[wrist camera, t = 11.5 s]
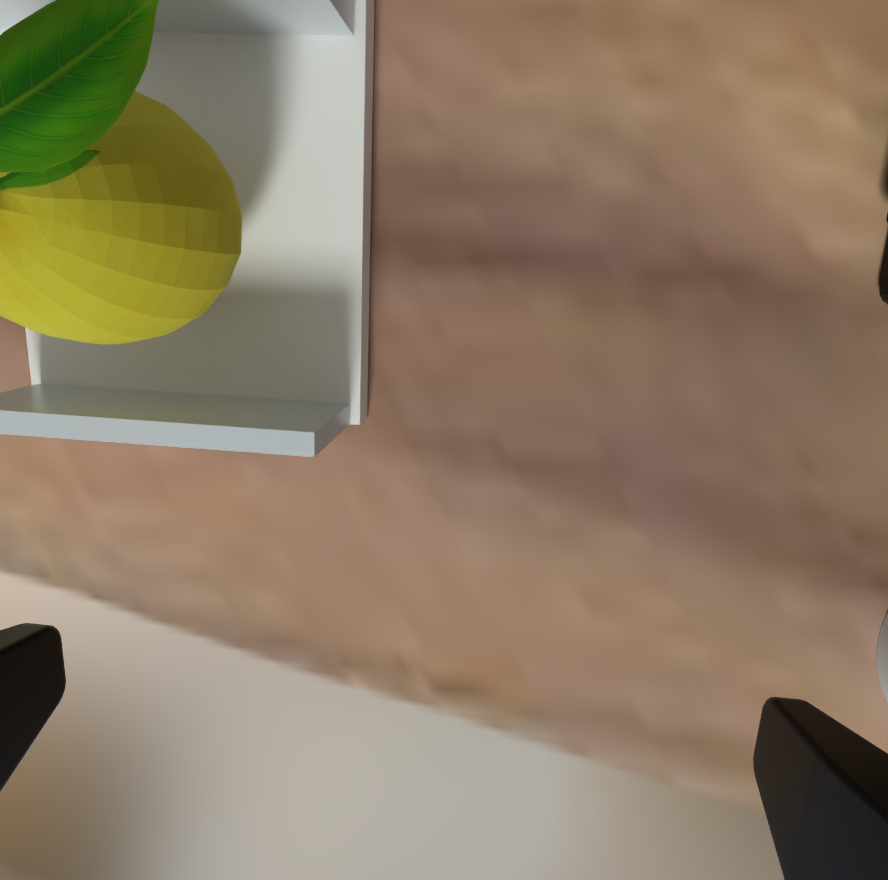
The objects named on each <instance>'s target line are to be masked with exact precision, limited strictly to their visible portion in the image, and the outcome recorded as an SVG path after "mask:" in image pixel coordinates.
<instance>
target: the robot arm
mask: <svg viewBox="0 0 888 880" xmlns="http://www.w3.org/2000/svg"><path fill="white" fill-rule="evenodd" d="M887 223H888V214H887ZM880 296H881V298H882V300H883V301H884V302H885V303H887V304H888V248H887V253H886V258H885V262H884V267H883V272H882V277H881V282H880ZM65 684H66V678H65V669H64V660H63V652H62V642H61V636H60V633H59V631H58V630H57V629H56V628H55V627H53V626H50V625H41V624H31V623H25V624H20V625H16V626H13V627H10V628H6V629H4V630H0V791H1V790H2V788H3V786H4V785H5V784H6V782H7V781H8V779H9V777H10V776H11V775H12V773H13V771H14V770H15V768H16V767H17V765H18V764H19V762H20V761H21V759H22V758H23V756H24V755H25V753H26V752H27V750H28V749H29V747H30V746H31V744H32V743H33V741H34V740H35V738H36V737H37V735H38V734H39V732H40V731H41V729H42V728H43V726H44V724H45V723H46V722H47V720H48V719H49V717H50V716H51V714H52V713H53V711H54V710H55V708H56V706H57V705H58V704H59V702H60V700H61V698H62V696H63V693H64V690H65ZM753 765H754V773H755V778H756V781H757V785H758V789H759V792H760V796H761V799H762V803H763V806H764V810H765V813H766V816H767V820H768V824H769V827H770V831H771V834H772V838H773V841H774V845H775V848H776V852H777V855H778V859H779V862H780V866H781V869H782V873H783V876H784V880H888V754H887V753H886V752H884V751H883V750H881V749H879V748H878V747H876V746H875V745H873V744H872V743H870V742H869V741H867V740H866V739H864V738H862V737H861V736H859V735H858V734H856V733H855V732H853V731H852V730H850V729H848V728H847V727H845V726H844V725H842V724H841V723H839V722H838V721H836V720H834V719H833V718H831V717H830V716H828V715H827V714H825V713H824V712H822V711H821V710H819V709H817V708H816V707H814V706H813V705H811V704H810V703H808V702H806V701H804V700H800V699H790V698H780V697H771V698H769V699H768V700H766V702H765V704H764V706H763V709H762V714H761V719H760V724H759V729H758V735H757V740H756V745H755V750H754V757H753Z"/></svg>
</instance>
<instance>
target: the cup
mask: <svg viewBox="0 0 888 880" xmlns="http://www.w3.org/2000/svg"><path fill="white" fill-rule="evenodd" d="M876 664H877V673H878V678H879V682H880V686H881V689H882V692H883V694H884V696H885V699H886V701H887V703H888V612H887V614H886V616H885V619H884V621H883V624H882V627H881V630H880V634H879V638H878V644H877V654H876Z"/></svg>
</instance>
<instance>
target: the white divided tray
mask: <svg viewBox="0 0 888 880" xmlns="http://www.w3.org/2000/svg"><path fill="white" fill-rule="evenodd" d="M53 1H55V0H0V35H1V34H2V33H3V32H4V31H6V30H7V29H9V28H10V27H12V26H14V25H15V24H17V23H18V22H20V21H21V20H23V19H25V18H26V17H28V16H29V15H31V14H33V13H34V12H36V11H38V10H39V9H41V8H42V7H44V6H46V5H47V4H49V3H51V2H53ZM374 1H375V0H159V2H158V6H157V12H156V18H155V25H154V32H153V37H152V43H151V48H150V52H149V56H148V61H147V65H146V68H145V70H144V73H143V75H142V77H141V79H140V82H139V83H138V85H137V87H136V89H135V91H136V92H139V93H141V94H143V95H145V96H147V97H149V98H152V99H154V100H156V101H158V102H160V103H162V104H165V105H166V106H168V107H169V108H170V109H171V110H173V111H174V112H175V113H177V114H178V115H179V116H180V117H181V118H182V119H183V120H184V121H185V122H186V123H187V124H188V125H189V126H191V127H192V128H193V129H194V130H195V131H196V132H197V133H198V134H199V135H200V136H201V137H202V138H203V139H204V140H205V141H207V143H208V144H209V145H210V146H211V147H212V148H213V150H214V151H215V153H216V155H217V156H218V158H219V160H220V161H221V163H222V164H223V166H224V168H225V169H226V171H227V173H228V174H229V176H230V178H231V179H232V181H233V183H234V187H235V191H236V195H237V199H238V203H239V207H240V211H241V215H242V240H241V254H240V257H239V259H238V262H237V264H236V266H235V269H234V271H233V274H232V276H231V279H230V281H229V284H228V285H227V286H226V288H225V289H224V290H223V291H222V293H221V294H220V295H219V296H218V298H217V299H216V300H215V301H214V302H213V304H212V305H211V306H210V307H209V309H208V310H207V311H205V312H204V313H203V314H202V315H201V316H199V317H197V318H196V319H194V320H192V321H191V322H189V323H187V324H186V325H184V326H182V327H181V328H179V329H178V330H176V331H174V332H172V333H169V334H167V335H164V336H160V337H155V338H150V339H145V340H140V341H135V342H130V343H123V344H93V343H85V342H79V341H74V340H68V339H63V338H57V337H52V336H47V335H44V334H42V333H39V332H36V331H33V330H30V329H28V328H26V327H25V329H26V338H27V347H28V356H29V365H30V374H31V382H32V386H27V387H23V388H19V389H15V390H10V391H6V392H2V393H0V434H10V435H23V436H37V437H50V438H64V439H77V440H91V441H104V442H118V443H131V444H145V445H158V446H172V447H185V448H199V449H213V450H226V451H240V452H253V453H267V454H280V455H294V456H307V457H315V456H316V455H317V454H318V453H319V452H320V451H321V450H323V449H324V448H325V447H326V446H327V445H328V444H329V443H330V442H331V441H332V440H333V439H334V438H335V437H336V436H338V435H339V434H340V433H341V432H342V431H343V430H344V429H345V428H346V427H347V426H348V425H349V424H354V425H360V424H361V423H362V422H363V421H364V420H365V419H366V418H367V403H368V345H369V288H370V231H371V173H372V116H373V58H374Z"/></svg>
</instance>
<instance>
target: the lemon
mask: <svg viewBox="0 0 888 880" xmlns="http://www.w3.org/2000/svg"><path fill="white" fill-rule="evenodd" d="M158 2H159V0H55V1H53V2H51V3H49V4H47V5H46V6H44V7H42V8H41V9H39V10H38V11H36V12H34V13H33V14H31V15H29V16H28V17H26V18H25V19H23V20H21V21H20V22H18V23H17V24H15V25H14V26H12V27H10V28H9V29H7V30H6V31H4V32H3V33H2V34H1V35H0V316H2V317H4V318H6V319H8V320H10V321H13V322H15V323H17V324H19V325H22V326H24V327H26V328H28V329H30V330H33V331H36V332H39V333H42V334H44V335H47V336H52V337H57V338H63V339H68V340H74V341H79V342H85V343H93V344H123V343H130V342H135V341H140V340H145V339H150V338H155V337H160V336H164V335H167V334H169V333H172V332H174V331H176V330H178V329H179V328H181V327H182V326H184V325H186V324H187V323H189V322H191V321H192V320H194V319H196V318H197V317H199V316H201V315H202V314H203V313H204V312H205V311H207V310H208V309H209V307H210V306H211V305H212V304H213V302H214V301H215V300H216V299H217V298H218V296H219V295H220V294H221V293H222V291H223V290H224V289H225V288H226V286H227V285H228V284H229V281H230V279H231V276H232V274H233V271H234V269H235V266H236V264H237V262H238V259H239V257H240V254H241V240H242V215H241V211H240V207H239V203H238V199H237V195H236V191H235V187H234V183H233V181H232V179H231V178H230V176H229V174H228V173H227V171H226V169H225V168H224V166H223V164H222V163H221V161H220V160H219V158H218V156H217V155H216V153H215V151H214V150H213V148H212V147H211V146H210V145H209V144H208V143H207V141H205V140H204V139H203V138H202V137H201V136H200V135H199V134H198V133H197V132H196V131H195V130H194V129H193V128H192V127H191V126H189V125H188V124H187V123H186V122H185V121H184V120H183V119H182V118H181V117H180V116H179V115H178V114H177V113H175V112H174V111H173V110H171V109H170V108H169V107H168V106H166V105H165V104H162V103H160V102H158V101H156V100H154V99H152V98H149V97H147V96H145V95H143V94H141V93H139V92H136V91H135V89H136V87H137V85H138V83H139V82H140V79H141V77H142V75H143V73H144V70H145V68H146V65H147V61H148V56H149V52H150V48H151V43H152V37H153V32H154V25H155V18H156V12H157V6H158Z"/></svg>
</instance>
